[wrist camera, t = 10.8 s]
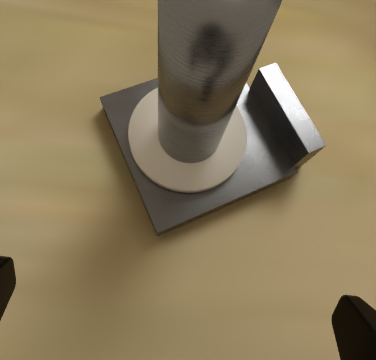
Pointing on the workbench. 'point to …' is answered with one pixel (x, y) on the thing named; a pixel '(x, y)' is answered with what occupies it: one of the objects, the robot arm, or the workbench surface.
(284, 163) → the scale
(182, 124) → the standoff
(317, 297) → the workbench surface
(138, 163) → the pan
